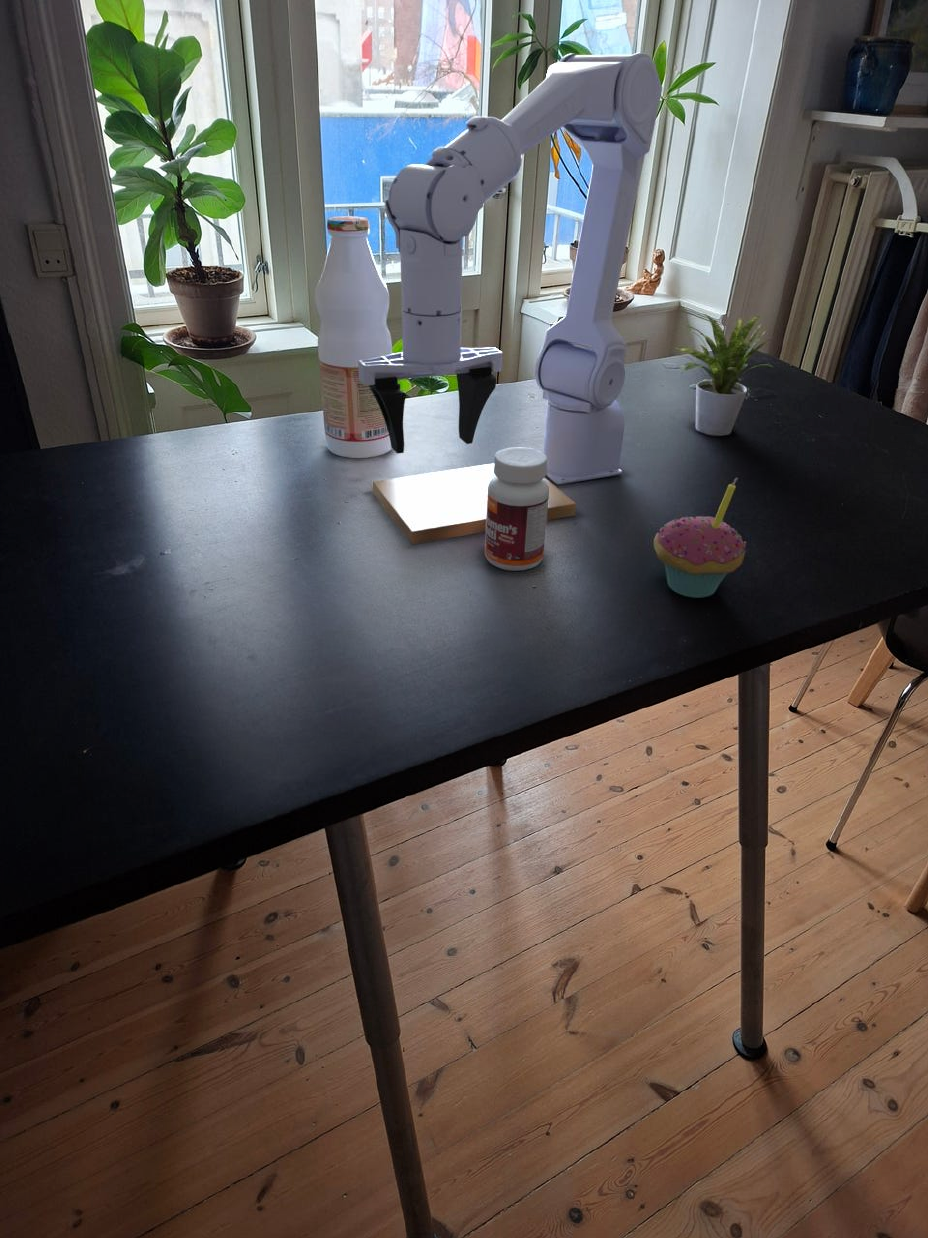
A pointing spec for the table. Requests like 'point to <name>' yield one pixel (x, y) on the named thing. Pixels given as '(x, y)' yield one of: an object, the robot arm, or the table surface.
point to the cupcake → (699, 551)
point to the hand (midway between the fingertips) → (432, 445)
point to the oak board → (449, 502)
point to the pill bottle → (517, 509)
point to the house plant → (722, 377)
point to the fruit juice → (351, 340)
